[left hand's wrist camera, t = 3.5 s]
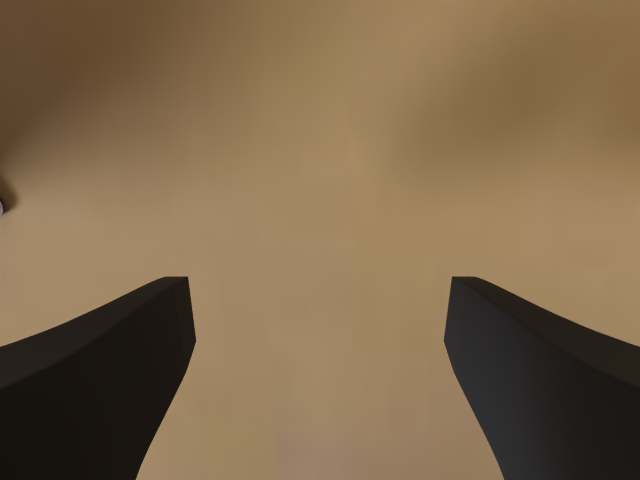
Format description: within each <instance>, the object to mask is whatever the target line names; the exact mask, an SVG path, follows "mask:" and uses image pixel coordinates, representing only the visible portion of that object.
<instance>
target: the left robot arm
mask: <svg viewBox="0 0 640 480" xmlns="http://www.w3.org/2000/svg"><path fill="white" fill-rule="evenodd" d="M2 212H3V206H2V204H1V202H0V215H2ZM195 343H196V336H195V328H194V320H193V313H192V305H191V297H190V289H189V281H188V277H163V278H160V279H157V280H155V281H153V282H150V283H148V284H146V285H144V286H142V287H140V288H138V289H136V290H134V291H132V292H130V293H128V294H125V295H123V296H121V297H119V298H117V299H115V300H113V301H111V302H109V303H107V304H105V305H103V306H101V307H99V308H97V309H94V310H92V311H90V312H88V313H86V314H83V315H81V316H79V317H77V318H75V319H73V320H70V321H68V322H66V323H64V324H61V325H59V326H56V327H54V328H51V329H49V330H46V331H44V332H41V333H38V334H36V335H33V336H30V337H28V338H25V339H22V340H19V341H17V342H14V343H11V344H8V345H5V346H1V347H0V480H136V477H137V474H138V472H139V469H140V466H141V464H142V462H143V459H144V457H145V455H146V453H147V451H148V448H149V446H150V444H151V442H152V440H153V438H154V436H155V434H156V432H157V430H158V428H159V426H160V424H161V422H162V420H163V418H164V416H165V414H166V412H167V410H168V408H169V406H170V404H171V402H172V400H173V398H174V396H175V394H176V392H177V390H178V388H179V386H180V384H181V382H182V380H183V377H184V375H185V373H186V371H187V368H188V365H189V362H190V359H191V356H192V353H193V349H194V346H195ZM444 343H445V346H446V349H447V353H448V356H449V359H450V362H451V365H452V368H453V371H454V373H455V375H456V377H457V380H458V382H459V384H460V386H461V388H462V390H463V392H464V394H465V396H466V398H467V400H468V402H469V404H470V406H471V408H472V410H473V412H474V414H475V416H476V418H477V420H478V422H479V424H480V426H481V428H482V430H483V432H484V434H485V436H486V438H487V440H488V442H489V444H490V446H491V448H492V451H493V453H494V455H495V457H496V459H497V462H498V464H499V466H500V469H501V472H502V474H503V477H504V480H640V347H639V346H636V345H633V344H630V343H627V342H624V341H621V340H618V339H616V338H613V337H610V336H607V335H605V334H602V333H599V332H597V331H594V330H592V329H589V328H586V327H584V326H582V325H579V324H577V323H575V322H572V321H570V320H568V319H565V318H563V317H561V316H559V315H556V314H554V313H552V312H550V311H548V310H546V309H543V308H541V307H539V306H537V305H535V304H533V303H531V302H529V301H527V300H525V299H523V298H521V297H519V296H517V295H515V294H513V293H511V292H509V291H507V290H505V289H503V288H501V287H499V286H496V285H494V284H492V283H490V282H488V281H485V280H483V279H480V278H477V277H452V281H451V289H450V297H449V305H448V313H447V320H446V328H445V336H444Z"/></svg>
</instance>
